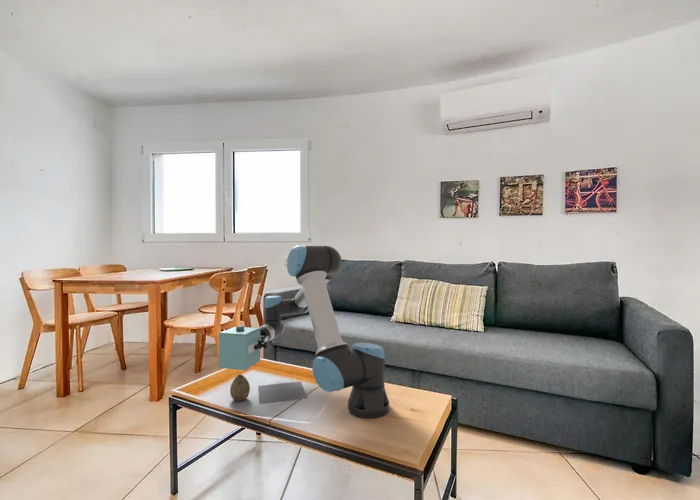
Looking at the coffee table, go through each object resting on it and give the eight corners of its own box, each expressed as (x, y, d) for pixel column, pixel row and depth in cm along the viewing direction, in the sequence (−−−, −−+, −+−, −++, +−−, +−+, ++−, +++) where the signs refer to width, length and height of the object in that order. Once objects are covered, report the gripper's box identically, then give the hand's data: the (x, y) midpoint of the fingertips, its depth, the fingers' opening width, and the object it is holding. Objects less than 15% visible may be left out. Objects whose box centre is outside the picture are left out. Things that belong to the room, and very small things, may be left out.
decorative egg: (239, 406, 125) (239, 379, 125) (226, 402, 129) (226, 375, 129) (253, 399, 131) (253, 373, 132) (240, 395, 135) (240, 370, 135)
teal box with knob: (260, 361, 135) (260, 324, 135) (245, 370, 124) (245, 330, 124) (235, 358, 137) (235, 322, 137) (218, 367, 126) (218, 328, 127)
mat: (307, 399, 132) (307, 398, 132) (259, 405, 126) (259, 403, 126) (300, 382, 149) (300, 381, 149) (258, 387, 144) (258, 385, 144)
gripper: (287, 345, 145) (262, 361, 124) (238, 342, 151) (206, 356, 129) (287, 327, 145) (263, 340, 124) (238, 325, 151) (206, 336, 129)
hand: (234, 348), depth 127 cm, fingers closed on teal box with knob, 11 cm apart
